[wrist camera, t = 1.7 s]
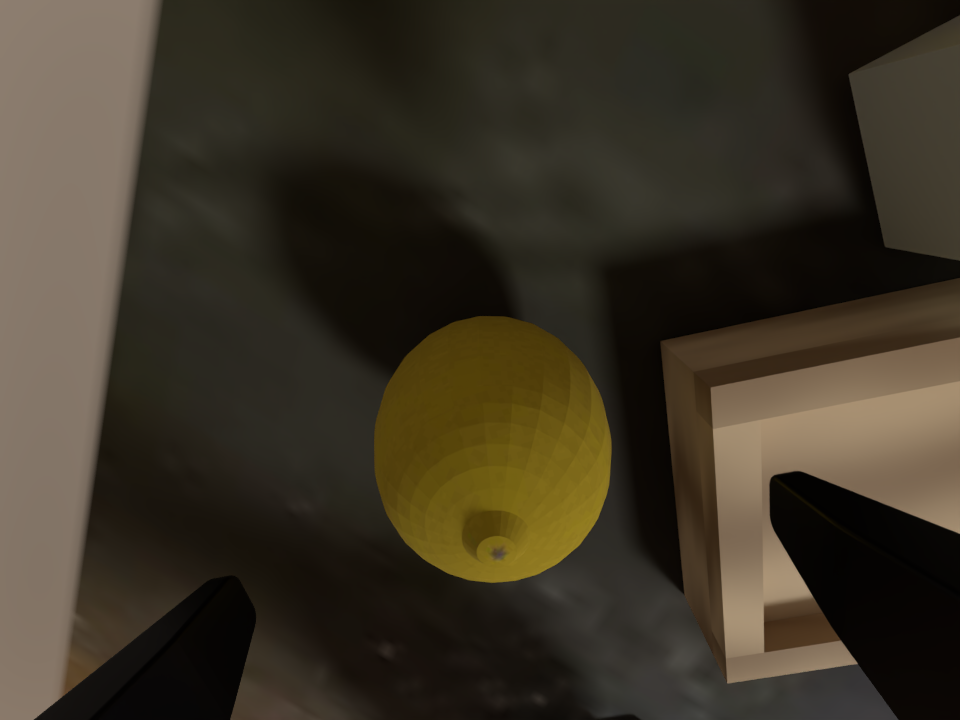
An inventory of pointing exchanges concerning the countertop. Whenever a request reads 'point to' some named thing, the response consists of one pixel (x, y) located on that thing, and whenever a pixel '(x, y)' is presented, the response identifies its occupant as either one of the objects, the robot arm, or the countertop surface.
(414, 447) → the lemon
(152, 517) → the countertop surface
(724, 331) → the square tray
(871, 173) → the ceramic cube
